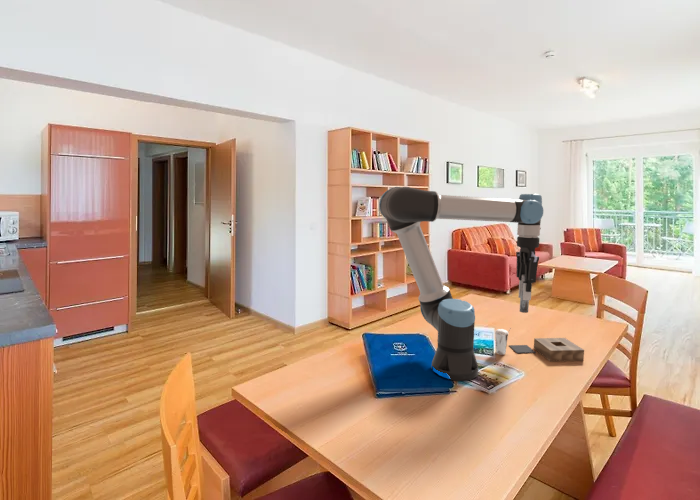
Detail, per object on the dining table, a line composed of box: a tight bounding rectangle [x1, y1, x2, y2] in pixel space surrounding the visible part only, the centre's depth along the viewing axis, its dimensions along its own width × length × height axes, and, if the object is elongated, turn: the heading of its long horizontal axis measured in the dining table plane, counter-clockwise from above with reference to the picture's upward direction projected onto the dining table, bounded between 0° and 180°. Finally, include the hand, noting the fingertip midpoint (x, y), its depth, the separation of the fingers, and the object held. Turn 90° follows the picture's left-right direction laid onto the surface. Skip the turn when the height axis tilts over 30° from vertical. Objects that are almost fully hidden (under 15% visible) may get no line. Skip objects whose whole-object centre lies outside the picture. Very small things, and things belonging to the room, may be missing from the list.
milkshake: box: [494, 327, 512, 356], centre depth 147 cm, size 4×5×10 cm
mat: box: [508, 344, 537, 354], centre depth 151 cm, size 7×7×1 cm
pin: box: [519, 274, 530, 314], centre depth 148 cm, size 3×3×14 cm
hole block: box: [533, 337, 585, 362], centre depth 146 cm, size 12×12×4 cm
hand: (524, 298), depth 148 cm, fingers closed on pin, 3 cm apart
